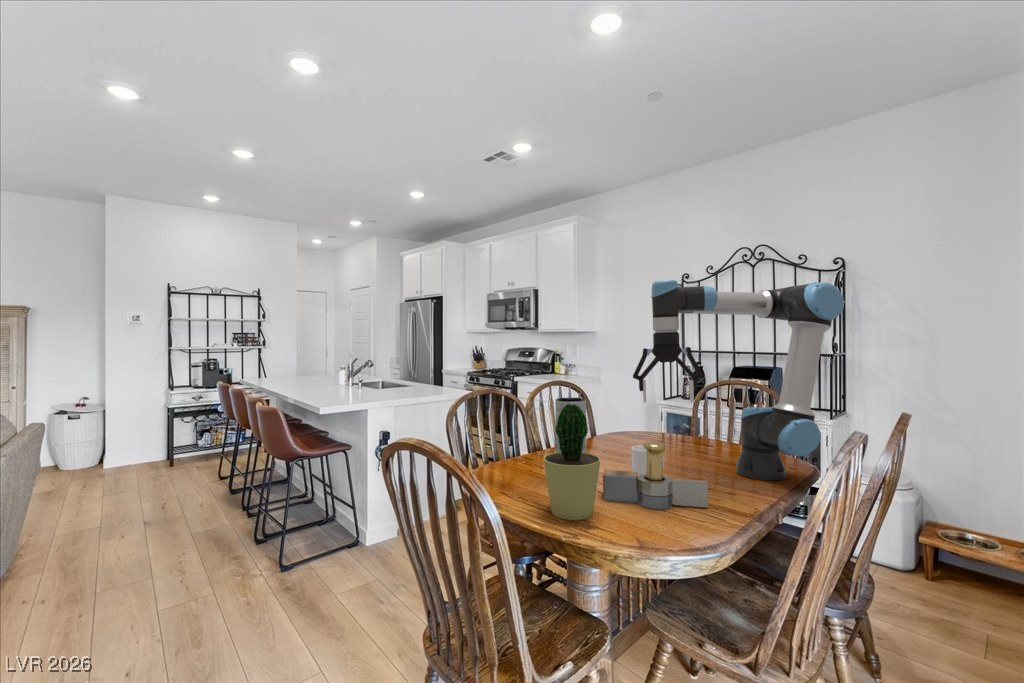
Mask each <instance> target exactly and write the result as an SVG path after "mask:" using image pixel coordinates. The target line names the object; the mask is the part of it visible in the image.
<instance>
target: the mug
mask: <svg viewBox="0 0 1024 683" xmlns="http://www.w3.org/2000/svg"><path fill="white" fill-rule="evenodd" d="M664 466H665V457H664V456H663V467H664ZM631 471H633V472H638V476H639V475H641V474H647V454H646V449H645V448H644V444H643V445H642V444H641V445H638V444H637V445H633V446H631Z"/></svg>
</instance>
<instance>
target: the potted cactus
mask: <svg viewBox="0 0 1024 683" xmlns="http://www.w3.org/2000/svg"><path fill="white" fill-rule="evenodd" d="M563 405H564V404H563ZM580 407H581V406H580ZM580 407H578V405H577V406H576V405H575V404H573V405H572V404H570V403H569V404H568V405H566V406H565V407H564V408H563V409H561V410H562V411H560V412H561V413H560V415H558V416H559V417H558V418H557V419H558V420H557V419H556V418H555V423H556V422H557V426H556V425H555V431H553V432H554V436H556V433H557V435H558V437H559V438H558V439H559V440H557V441H558V442H559V445H560V450H561V452H560V451H559V452H556V451H555V452H551V453H548V454H545V455H544V456H543V462H544V469H545V470H544V471H545V479H546V484H547V491H548V497H549V504H550V511H551V513H552V515H553V516H555V517H556V518H559V519H563V520H568V521H579V520H586V519H589V518H591V517H592V516H593V514H594V511H595V510H594V509H595V502H596V496H597V495H596V494H597V487H598V480H599V473H600V466H601V457H599V456H598V455H595V454H592V453H590V452H589V453H588V452H586V453H584V452H582V447H583V445H584V444H583V442H584V438H585V437H586V440H587V437H589V438H591V437H590V436H589V435H588V433H589V431H591V429H590V426H589V425H588V424H589V421H588V420H587V416H586V417H585V415H584V413H583V411H582V410H581V409H580ZM557 410H558V409H557ZM558 411H559V410H558ZM556 420H557V421H556ZM555 423H553V424H555ZM557 444H558V443H557ZM584 446H585V445H584Z"/></svg>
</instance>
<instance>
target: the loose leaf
mask: <svg viewBox="0 0 1024 683" xmlns="http://www.w3.org/2000/svg"><path fill="white" fill-rule="evenodd" d="M708 483H709V482H708V480H700V479H699V480H697V479H696V480H695V479H685V478H684V479H682V478H681V479H680V478H672V477H670V476H668V475H664V474H663V481H659V482H656V481H649V480H647V474H641V475H639V476H638V491H639V492H640V493H642V494H646V495H650V496H668V495H670V494H672V506H683V507H696V508H706V509H707V508H708V507H709V498H708V497H709V493H708V490H709V488H708V487H709V484H708Z"/></svg>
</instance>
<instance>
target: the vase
mask: <svg viewBox="0 0 1024 683" xmlns="http://www.w3.org/2000/svg"><path fill="white" fill-rule="evenodd" d="M554 403H555V408H554V409H555V427H556V426H557V422H556V421H557V420H558V419H557V418H558V417H559V416H558V415H560V413H561V412H560V411H562V410H561V409H563V408H564V407H565V406H566V405H568V404H569V403H570V404H572V405H573V404H575V405H576V406H577V405H578V407H580V406H581V407H580V409H581V410H582V411H583V413H584V415H585V417H586V418H587V400H586V399H585V398H582V397H560V398H556V399H555V401H554ZM563 404H564V405H563ZM557 409H558V410H559V411H558V410H557ZM556 419H557V420H556ZM558 438H559V437H558V435H557V433H556V432H555V452H559V451H560V452H561V450H560V445H559V442H558V441H557V440H559V439H558ZM586 438H587V436H586V437H585V438H584V442H583V444H584V445H585V446H584V445H583V447H582V452H584V453H587V439H586ZM557 443H558V444H557Z"/></svg>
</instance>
